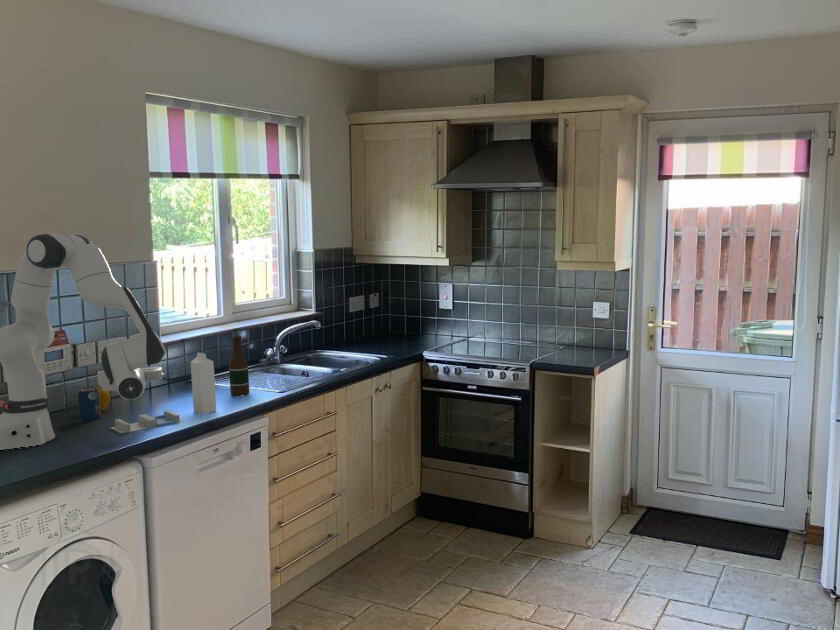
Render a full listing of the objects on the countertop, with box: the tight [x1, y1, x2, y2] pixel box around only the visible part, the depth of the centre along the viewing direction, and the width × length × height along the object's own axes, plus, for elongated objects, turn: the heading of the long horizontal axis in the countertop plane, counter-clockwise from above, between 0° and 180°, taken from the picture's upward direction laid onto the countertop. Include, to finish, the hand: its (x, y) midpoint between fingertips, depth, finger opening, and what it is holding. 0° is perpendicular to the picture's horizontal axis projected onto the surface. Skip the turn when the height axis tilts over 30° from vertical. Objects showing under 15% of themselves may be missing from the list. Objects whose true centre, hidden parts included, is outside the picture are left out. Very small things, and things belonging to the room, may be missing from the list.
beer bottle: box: [228, 334, 250, 397], centre depth 320 cm, size 8×8×24 cm
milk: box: [190, 352, 217, 415], centre depth 293 cm, size 6×6×22 cm
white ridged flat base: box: [110, 409, 184, 434], centre depth 272 cm, size 22×12×4 cm, turn 130°
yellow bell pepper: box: [96, 387, 111, 413], centre depth 300 cm, size 8×8×9 cm
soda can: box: [77, 387, 102, 423], centre depth 283 cm, size 7×7×12 cm
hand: (130, 371), depth 268 cm, fingers closed on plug, 4 cm apart
